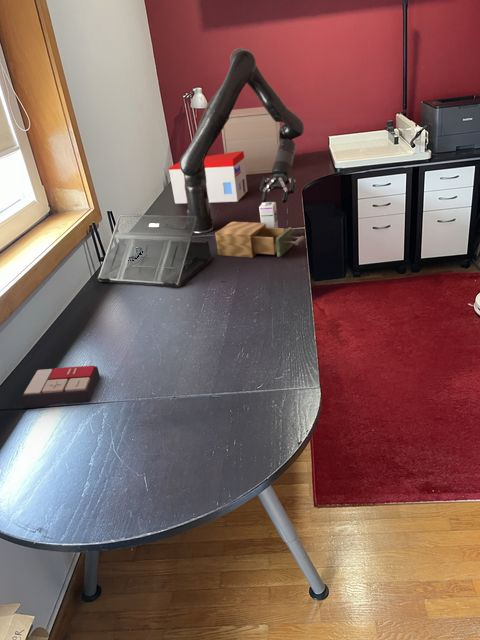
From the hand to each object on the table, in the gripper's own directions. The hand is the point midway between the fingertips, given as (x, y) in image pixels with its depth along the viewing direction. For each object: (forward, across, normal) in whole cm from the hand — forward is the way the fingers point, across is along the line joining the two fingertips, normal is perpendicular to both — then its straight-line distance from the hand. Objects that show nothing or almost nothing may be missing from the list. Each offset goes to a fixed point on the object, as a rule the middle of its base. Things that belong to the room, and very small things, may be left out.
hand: (273, 201), depth 202 cm
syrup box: (+14, 0, +6) cm, 15 cm away
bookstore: (-27, -61, +47) cm, 82 cm away
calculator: (+92, -5, -72) cm, 117 cm away
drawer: (+22, +9, -4) cm, 24 cm away
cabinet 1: (-75, -67, +94) cm, 138 cm away
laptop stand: (+41, -29, -22) cm, 55 cm away
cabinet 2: (+23, -6, -3) cm, 24 cm away
